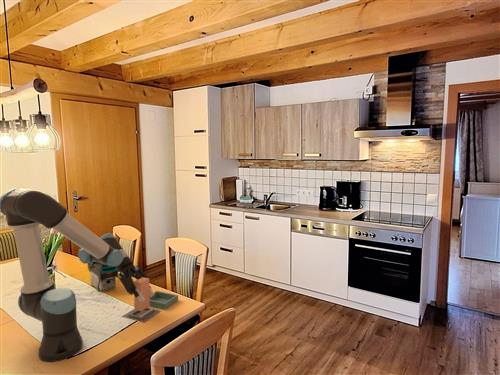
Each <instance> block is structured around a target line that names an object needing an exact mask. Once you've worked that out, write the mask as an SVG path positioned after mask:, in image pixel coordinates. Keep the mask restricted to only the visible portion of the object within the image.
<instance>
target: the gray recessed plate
mask: <svg viewBox="0 0 500 375" xmlns="http://www.w3.org/2000/svg"><path fill="white" fill-rule="evenodd" d="M161 312H162V311H161V310H160V309H159V310H158V309H155V307H151V308H150V307H147V308H146V309H144V310H142V311H138V310H134V308H133V309H132V310H130V311H128V312H127V313H125V314H123V315H121V316H120V317H121V318H125V319H128V320H132V321H136V322H141V323H143V324H145V323H146V322H148V321H149V320H151V319H152V318H154V317H155V316H157V315H158V314H159V313H161Z"/></svg>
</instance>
